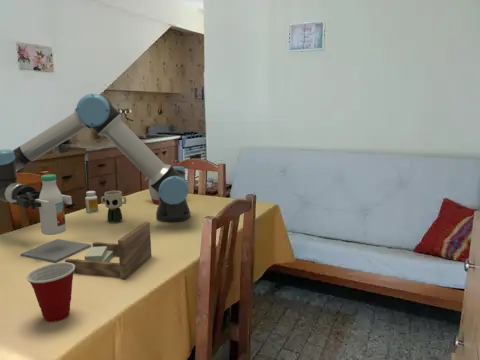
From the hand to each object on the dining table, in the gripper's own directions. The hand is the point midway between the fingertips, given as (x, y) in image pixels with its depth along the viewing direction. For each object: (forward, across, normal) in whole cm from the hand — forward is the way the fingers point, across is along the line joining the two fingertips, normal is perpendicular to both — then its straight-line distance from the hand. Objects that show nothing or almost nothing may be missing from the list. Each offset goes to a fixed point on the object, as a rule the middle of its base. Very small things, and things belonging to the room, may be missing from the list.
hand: (59, 203), depth 136 cm
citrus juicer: (-21, -71, -18) cm, 76 cm away
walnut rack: (+20, -2, -18) cm, 27 cm away
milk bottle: (-5, 0, -11) cm, 12 cm away
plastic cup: (+35, +26, -18) cm, 47 cm away
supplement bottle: (-37, -40, -18) cm, 57 cm away
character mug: (-15, -35, -18) cm, 42 cm away
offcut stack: (+16, -2, -18) cm, 24 cm away
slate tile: (-5, 0, -18) cm, 19 cm away
